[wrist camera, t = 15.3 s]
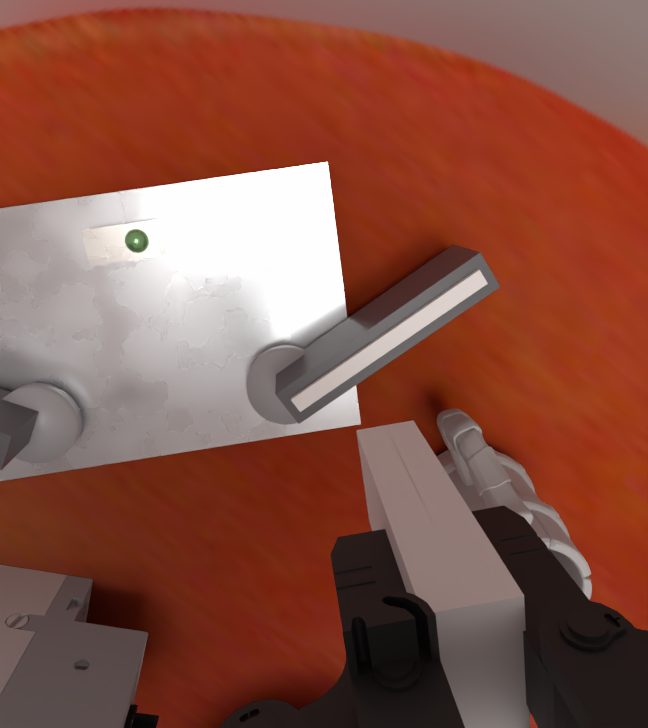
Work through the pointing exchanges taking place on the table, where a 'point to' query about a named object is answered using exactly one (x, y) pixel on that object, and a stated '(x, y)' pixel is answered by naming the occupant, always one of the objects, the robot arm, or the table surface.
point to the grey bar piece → (37, 423)
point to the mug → (504, 489)
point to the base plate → (169, 308)
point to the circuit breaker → (64, 657)
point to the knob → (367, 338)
